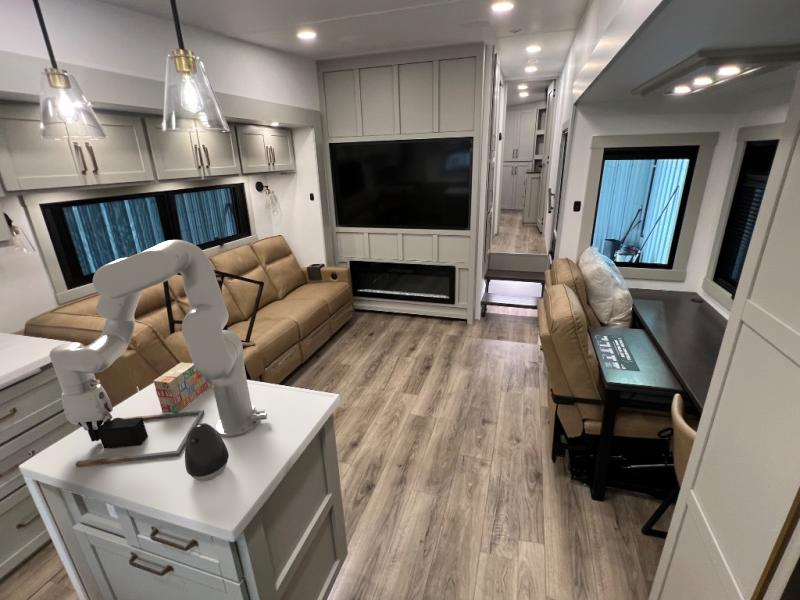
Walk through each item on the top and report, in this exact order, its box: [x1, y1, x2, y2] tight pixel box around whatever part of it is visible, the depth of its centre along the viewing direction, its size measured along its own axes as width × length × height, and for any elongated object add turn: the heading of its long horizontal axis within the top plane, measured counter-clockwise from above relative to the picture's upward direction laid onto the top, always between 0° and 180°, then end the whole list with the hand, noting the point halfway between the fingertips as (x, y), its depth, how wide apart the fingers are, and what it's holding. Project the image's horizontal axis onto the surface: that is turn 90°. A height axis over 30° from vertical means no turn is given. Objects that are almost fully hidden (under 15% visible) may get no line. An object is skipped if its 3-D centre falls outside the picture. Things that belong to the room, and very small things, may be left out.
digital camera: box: [97, 417, 149, 450], centre depth 113 cm, size 10×5×7 cm, turn 97°
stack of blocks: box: [153, 362, 213, 413], centre depth 135 cm, size 21×6×12 cm, turn 167°
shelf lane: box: [75, 413, 163, 468], centre depth 115 cm, size 14×20×1 cm
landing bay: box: [130, 409, 206, 462], centre depth 116 cm, size 13×20×1 cm, turn 7°
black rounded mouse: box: [184, 422, 230, 482], centre depth 99 cm, size 10×10×15 cm
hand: (98, 438), depth 114 cm, fingers closed
